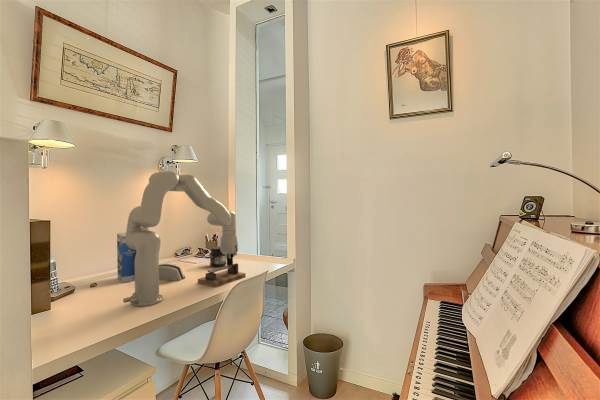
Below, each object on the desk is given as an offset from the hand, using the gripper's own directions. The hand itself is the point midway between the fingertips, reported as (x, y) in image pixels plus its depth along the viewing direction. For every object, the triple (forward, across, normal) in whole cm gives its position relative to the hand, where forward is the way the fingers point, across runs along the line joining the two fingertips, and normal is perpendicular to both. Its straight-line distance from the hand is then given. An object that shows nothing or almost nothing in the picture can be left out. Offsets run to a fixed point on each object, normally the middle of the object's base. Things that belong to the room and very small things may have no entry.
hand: (229, 264), depth 168 cm
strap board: (+7, 0, -6) cm, 9 cm away
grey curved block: (+7, -27, -21) cm, 35 cm away
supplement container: (+8, -27, +15) cm, 32 cm away
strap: (+1, 0, -6) cm, 6 cm away
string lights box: (+7, -46, -34) cm, 57 cm away
